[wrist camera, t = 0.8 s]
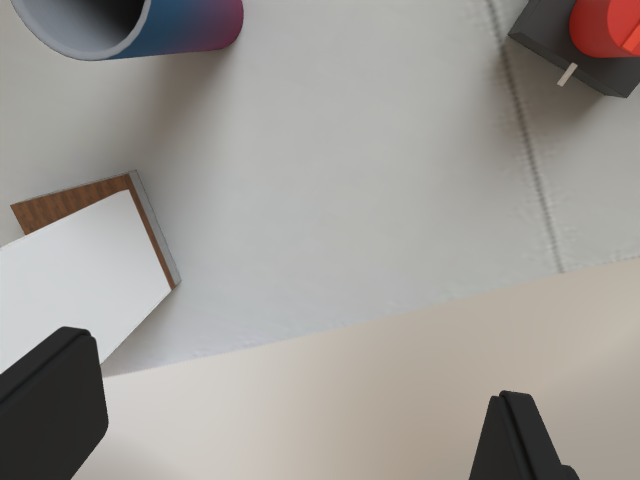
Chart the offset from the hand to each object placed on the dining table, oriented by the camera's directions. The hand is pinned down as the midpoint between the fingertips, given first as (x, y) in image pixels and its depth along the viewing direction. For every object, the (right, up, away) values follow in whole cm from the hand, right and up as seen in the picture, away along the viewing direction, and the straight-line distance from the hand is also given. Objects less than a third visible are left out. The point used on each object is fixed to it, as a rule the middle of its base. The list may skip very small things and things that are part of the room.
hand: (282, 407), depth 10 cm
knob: (+18, +17, +16) cm, 29 cm away
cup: (-7, +20, +22) cm, 31 cm away
